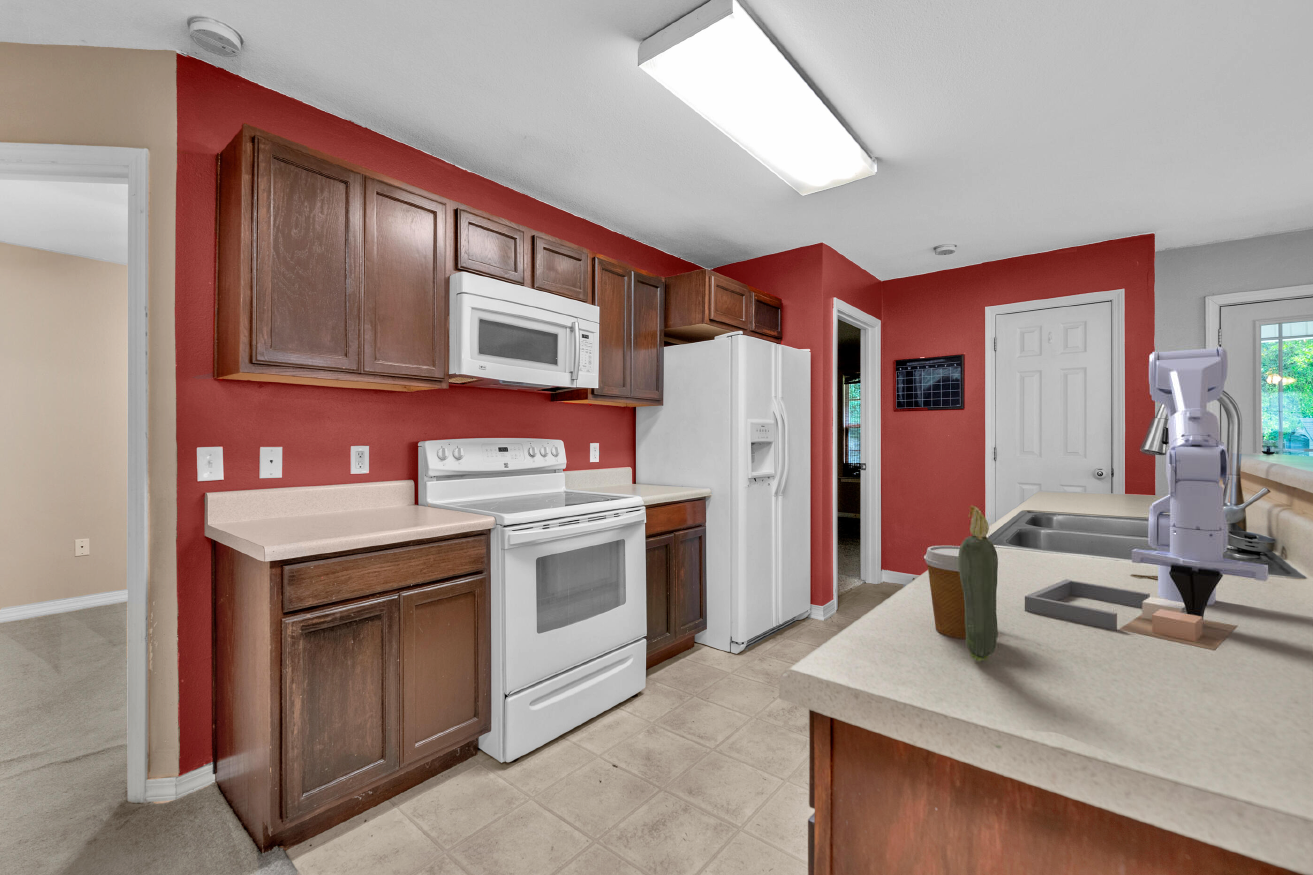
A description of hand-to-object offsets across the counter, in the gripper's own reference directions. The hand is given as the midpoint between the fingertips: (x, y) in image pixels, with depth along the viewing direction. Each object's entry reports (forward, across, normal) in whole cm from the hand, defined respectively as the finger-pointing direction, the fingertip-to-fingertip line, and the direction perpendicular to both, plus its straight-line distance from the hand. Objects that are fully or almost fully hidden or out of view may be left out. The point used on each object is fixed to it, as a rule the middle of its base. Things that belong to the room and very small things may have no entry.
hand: (1195, 619), depth 85 cm
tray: (+2, -12, -4) cm, 12 cm away
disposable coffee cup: (+2, -21, -27) cm, 35 cm away
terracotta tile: (+1, -1, -7) cm, 7 cm away
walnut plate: (+2, -1, -4) cm, 4 cm away
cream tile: (+1, -3, 0) cm, 3 cm away
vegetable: (+2, -14, -38) cm, 40 cm away
